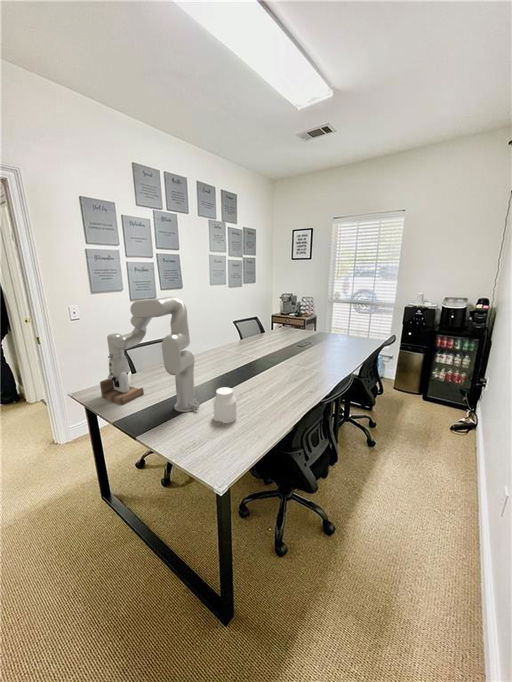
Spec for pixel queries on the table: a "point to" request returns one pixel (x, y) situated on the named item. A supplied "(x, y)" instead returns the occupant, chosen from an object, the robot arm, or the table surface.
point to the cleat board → (118, 396)
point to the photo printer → (122, 383)
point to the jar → (224, 405)
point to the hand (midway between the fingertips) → (121, 384)
